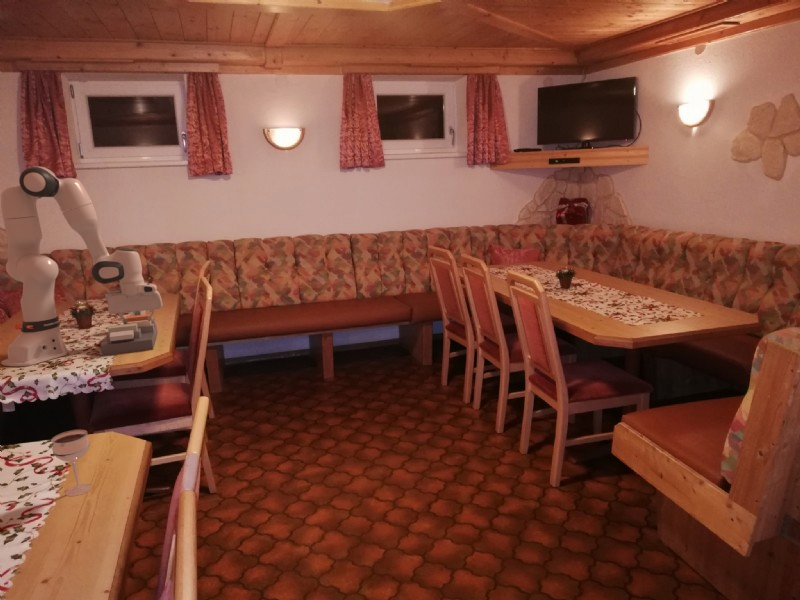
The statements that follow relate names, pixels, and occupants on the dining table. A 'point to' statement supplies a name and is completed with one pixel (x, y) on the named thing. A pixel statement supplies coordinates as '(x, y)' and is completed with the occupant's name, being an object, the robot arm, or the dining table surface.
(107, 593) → the dining table surface
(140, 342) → the panel
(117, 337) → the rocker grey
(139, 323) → the bar ivory
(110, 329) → the bar sage
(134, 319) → the bar orange
